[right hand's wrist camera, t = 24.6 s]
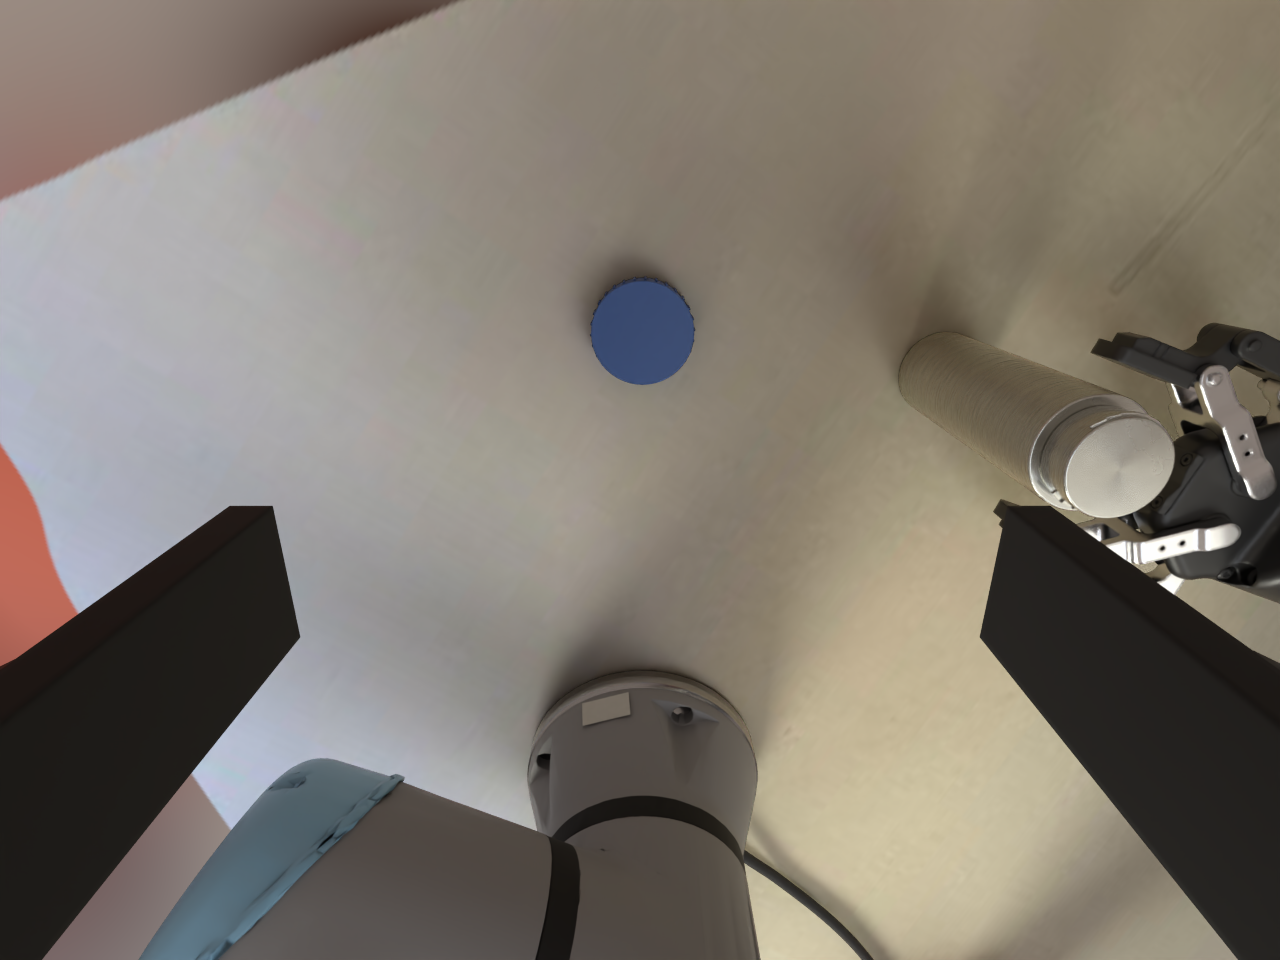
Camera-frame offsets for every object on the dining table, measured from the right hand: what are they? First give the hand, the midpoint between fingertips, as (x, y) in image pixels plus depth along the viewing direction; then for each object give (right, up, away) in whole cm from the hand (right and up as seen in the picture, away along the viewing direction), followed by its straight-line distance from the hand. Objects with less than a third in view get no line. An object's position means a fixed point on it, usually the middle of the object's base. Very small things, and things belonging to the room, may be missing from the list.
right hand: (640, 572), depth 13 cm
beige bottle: (+16, +8, +25) cm, 31 cm away
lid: (0, +9, +23) cm, 25 cm away
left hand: (+19, +4, +20) cm, 28 cm away
